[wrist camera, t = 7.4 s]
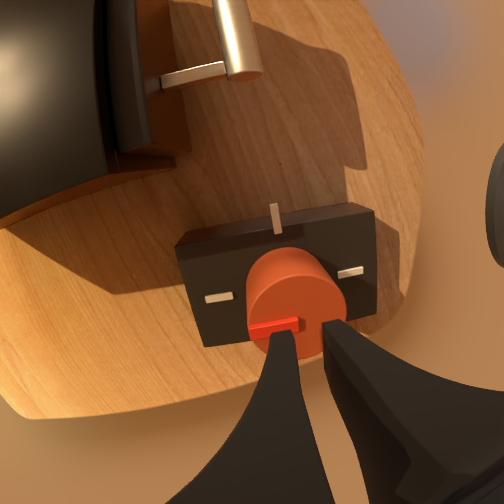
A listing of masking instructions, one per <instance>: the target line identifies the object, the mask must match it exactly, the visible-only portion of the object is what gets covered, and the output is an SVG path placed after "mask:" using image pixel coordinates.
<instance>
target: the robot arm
mask: <svg viewBox="0 0 504 504" xmlns="http://www.w3.org/2000/svg"><path fill="white" fill-rule="evenodd" d="M321 324H322V338H323V356H324V369H325V373H326V376H327V380H328V383H329V387H330V390H331V393H332V395H333V398H334V400H335V402H336V404H337V407H338V409H339V412H340V414H341V416H342V419H343V421H344V423H345V426H346V428H347V430H348V432H349V435H350V437H351V439H352V442H353V444H354V447H355V450H356V453H357V457H358V460H359V463H360V467H361V470H362V474H363V478H364V482H365V486H366V491H367V494H368V499H369V504H504V392H503V391H495V390H488V389H483V388H477V387H473V386H469V385H465V384H461V383H458V382H454V381H451V380H448V379H445V378H442V377H439V376H437V375H434V374H431V373H429V372H427V371H424V370H422V369H420V368H417V367H415V366H413V365H411V364H409V363H407V362H405V361H403V360H401V359H400V358H397V357H396V356H394V355H392V354H391V353H389V352H387V351H385V350H384V349H382V348H381V347H379V346H378V345H376V344H375V343H373V342H371V341H370V340H368V339H367V338H366V337H364V336H363V335H361V334H360V333H359V332H357V331H356V330H354V329H353V328H352V327H350V326H349V325H347V324H346V323H345V322H343V321H342V320H340V319H335V320H331V321H327V322H322V323H321ZM165 504H335V501H334V498H333V495H332V492H331V489H330V486H329V483H328V480H327V477H326V473H325V471H324V467H323V464H322V460H321V457H320V454H319V451H318V447H317V444H316V441H315V437H314V434H313V430H312V427H311V423H310V420H309V416H308V413H307V409H306V406H305V402H304V398H303V395H302V390H301V384H300V376H299V367H298V359H297V351H296V343H295V338H294V336H293V333H292V331H291V329H288V330H283V331H278V332H272V333H271V335H270V336H269V347H268V352H267V356H266V360H265V363H264V366H263V370H262V373H261V376H260V378H259V381H258V383H257V386H256V388H255V390H254V393H253V395H252V397H251V400H250V402H249V404H248V406H247V408H246V409H245V411H244V413H243V415H242V417H241V419H240V420H239V422H238V423H237V425H236V426H235V428H234V430H233V431H232V433H231V434H230V435H229V437H228V438H227V440H226V441H225V443H224V444H223V445H222V447H221V448H220V450H219V451H218V452H217V453H216V454H215V455H214V457H213V458H212V459H211V460H210V461H209V463H207V465H206V466H205V467H204V468H203V469H202V470H201V472H199V474H198V475H197V476H196V477H195V478H194V479H193V480H192V481H191V482H189V483H188V484H187V485H186V486H185V487H184V488H183V489H182V490H181V491H179V492H178V493H177V494H176V495H175V496H174V497H172V498H171V499H170V500H169V501H168V502H166V503H165Z"/></svg>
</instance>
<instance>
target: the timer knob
mask: <svg viewBox="0 0 504 504" xmlns="http://www.w3.org/2000/svg"><path fill="white" fill-rule="evenodd" d="M246 301H247V326H248V331H249V335H250V340H253V342H254V343H255V345H256V346H257V347H258V348H259V349H260V350H262V351H263V352H264V353H266V354H267V352H268V347H269V336H270V335H271V333H272V332H278V331H283V330H288V329H291V331H292V333H293V336H294V338H295V343H296V351H297V359H298V360H301V359H306V358H309V357H312V356H315V355H317V354H319V353H321V352H322V351H323V338H322V324H321V323H322V322H327V321H331V320H335V319H340V320H342V321H343V322H345V321H346V316H347V307H346V302H345V298H344V296H343V294H342V292H341V291H340V289H339V288H338V287H337V285H336V284H335V283H334V281H333V280H332V278H331V277H330V276H329V274H328V273H327V272H326V270H325V269H324V268H323V266H322V265H321V264H320V262H319V261H318V260H317V259H316V258H315V257H314V256H313V255H312V254H310V253H308V252H307V251H304V250H302V249H298V248H293V247H285V248H279V249H275V250H272V251H270V252H268V253H266V254H265V255H263V256H262V257H260V258H259V259H258V260H257V261H256V262H255V264H254V265H253V266H252V268H251V269H250V272H249V274H248V277H247V281H246Z"/></svg>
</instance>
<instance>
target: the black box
mask: <svg viewBox="0 0 504 504" xmlns="http://www.w3.org/2000/svg"><path fill="white" fill-rule="evenodd" d="M175 168H176V163H175V158H174V157H162V156H149V155H134V154H119V152H118V149H114V143H113V137H112V131H111V124H110V117H109V109H108V101H107V91H106V81H105V68H104V52H103V0H0V229H3V228H5V227H7V226H9V225H11V224H14V223H16V222H18V221H20V220H23V219H25V218H27V217H30V216H32V215H34V214H37V213H39V212H42V211H44V210H47V209H49V208H52V207H54V206H57V205H60V204H62V203H65V202H68V201H70V200H73V199H76V198H79V197H82V196H84V195H87V194H90V193H93V192H96V191H99V190H102V189H105V188H109V187H112V186H115V185H118V184H121V183H125V182H128V181H131V180H135V179H138V178H142V177H145V176H149V175H153V174H156V173H160V172H164V171H168V170H172V169H175Z"/></svg>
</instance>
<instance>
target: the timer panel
mask: <svg viewBox="0 0 504 504" xmlns="http://www.w3.org/2000/svg"><path fill="white" fill-rule="evenodd" d="M270 211H271V216H267V217H261V218H256V219H250V220H245V221H239V222H234V223H229V224H224V225H218V226H213V227H208V228H203V229H198V230H193V231H188V232H186V233H185V234H184V235H183V236H182V237H181V239H180V240H179V241H178V242H177V244H176V245H175V246H174V248H175V252H176V256H177V259H178V263H179V267H180V270H181V274H182V277H183V281H184V284H185V288H186V291H187V295H188V298H189V301H190V305H191V308H192V311H193V314H194V318H195V321H196V324H197V327H198V330H199V333H200V336H201V339H202V342H203V345H204V347H212V346H219V345H226V344H233V343H240V342H246V341H252V340H250V335H249V331H248V326H247V301H246V281H247V277H248V274H249V272H250V269H251V268H252V266H253V265H254V264H255V262H256V261H257V260H258V259H259V258H260V257H262V256H263V255H265V254H266V253H268V252H270V251H272V250H275V249H279V248H285V247H293V248H298V249H302V250H304V251H307V252H308V253H310V254H312V255H313V256H314V257H315V258H316V259H317V260H318V261H319V262H320V264H321V265H322V266H323V268H324V269H325V270H326V272H327V273H328V274H329V276H330V277H331V278H332V280H333V281H334V283H335V284H336V285H337V287H338V288H339V289H340V291H341V292H342V294H343V296H344V298H345V302H346V307H347V316H346V321H350V320H354V319H358V318H362V317H366V316H370V315H373V314H376V312H377V254H376V232H375V216H374V210H371V209H369V208H366V207H364V206H361V205H358V204H356V203H353V202H351V203H344V204H338V205H332V206H325V207H319V208H313V209H307V210H301V211H295V212H289V213H284V214H279V209H278V204H277V203H275V204H270ZM346 321H345V322H346Z"/></svg>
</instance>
